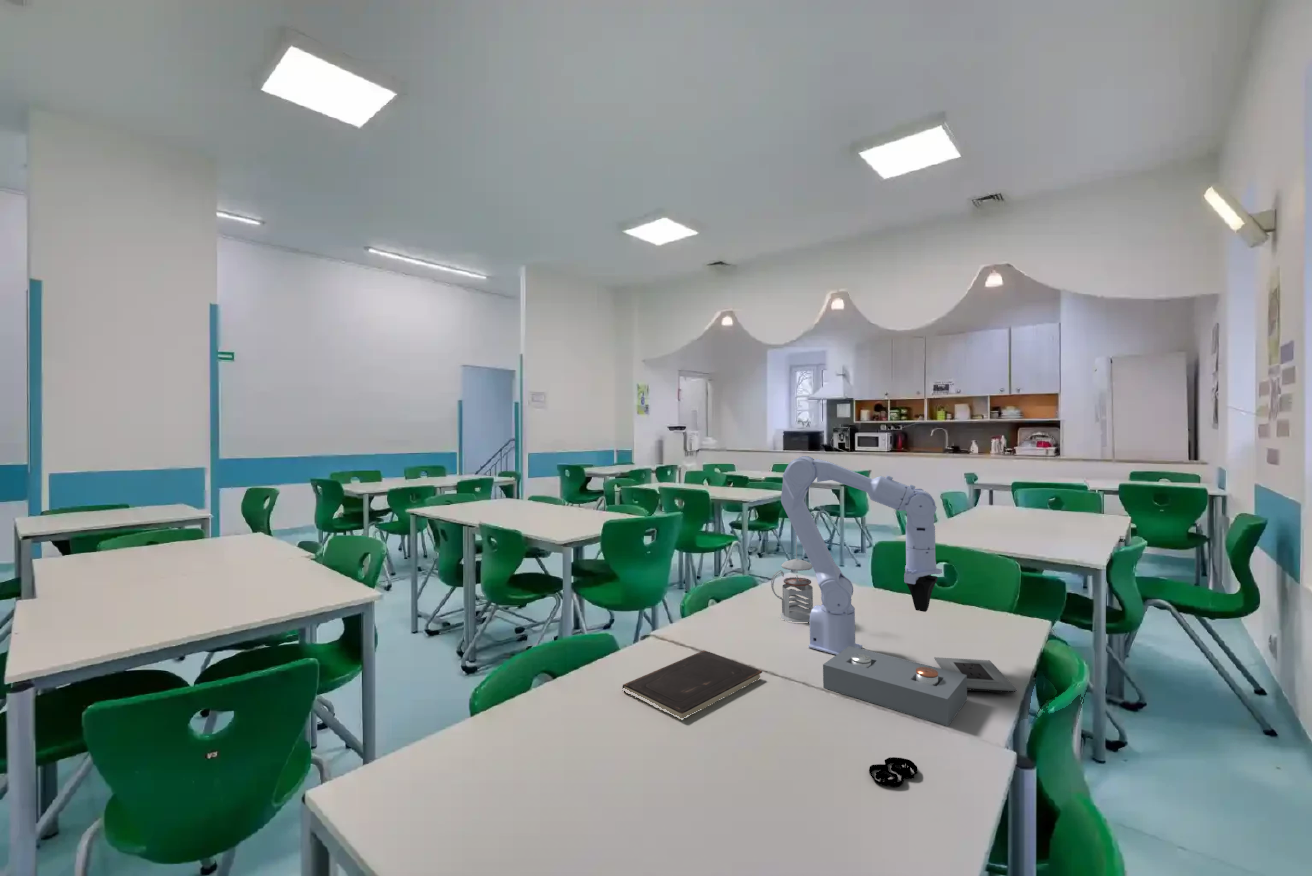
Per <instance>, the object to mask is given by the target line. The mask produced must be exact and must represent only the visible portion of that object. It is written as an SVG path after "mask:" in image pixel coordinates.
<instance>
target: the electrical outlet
mask: <svg viewBox="0 0 1312 876" xmlns="http://www.w3.org/2000/svg"><path fill="white" fill-rule="evenodd" d="M933 659H934V661H936V663H937V664H938V666H939V668H941V669H945V670H949V671H953V672H957V673H961V674H965V675H967V691H976V692H978V691H979V692H994V693H1007V694H1008V693H1010V694H1012V693H1016V692H1018V689H1017V687H1016V686H1015V685H1014V684H1013V683H1012V682H1011V681H1010V679H1008V678H1007V677H1006V676H1005V675H1004V674H1003V672H1002V671H1000V669H999V668H998V667H997V666H996V665H995V664H994V663H993V662H992V661H991V660H990V659H977V658H975V659H973V658H954V657H936V656H934V657H933Z"/></svg>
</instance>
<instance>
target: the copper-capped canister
mask: <svg viewBox="0 0 1312 876" xmlns="http://www.w3.org/2000/svg"><path fill="white" fill-rule="evenodd" d="M916 681H918V682H922V683H926V684H929V685H933V686H937V685H938V672H937V671H936V670H935V669H932V668H928V667H918V668H916Z"/></svg>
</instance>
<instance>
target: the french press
mask: <svg viewBox="0 0 1312 876" xmlns="http://www.w3.org/2000/svg"><path fill="white" fill-rule="evenodd" d="M797 540H798V536H797V534H796V533H795V552H796V553H795V554H796V555H795V556H796V558H794V559H790V560H786V561H784V562H783V563H781V567H782V569H785V570H789V571H796V572H798V571H809V570H812V569H813V567H812V565H811V563H810V561H806V560H804V559H799V558H798V544H797V543H798V541H797ZM780 574H781V577H783V578H784V575H785V572H783V570H778V571H776V572H775V573H774V574H773V575H772V578H771V581H770V583H771V584H770V585H771V591H772V593H773V594H774V596H775V597H777V598H778V599H780V600H781V613H780V614H779V615H780V616H781V618H782V619H784V620H786V621H792V622H810V614H811V610H812V609H813V607H814V599H813V597H814V596H813V594H814V593H813V586H812V585H811V584H812V580H810V579H809V578H805V577H799V576H796V577H795V576H790V577H786V578H784V579H783V580H782V581H783V584H782V596H780V595H778V594H777V593H776V592H775V588H774V586H775V585H774V583H775V580H776V578H777V577H778V575H780ZM790 587H792V588H790ZM788 588H789V589H788ZM793 588H795V589H793ZM796 589H797V590H796ZM786 621H785V622H786Z"/></svg>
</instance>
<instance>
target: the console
mask: <svg viewBox="0 0 1312 876" xmlns="http://www.w3.org/2000/svg"><path fill="white" fill-rule="evenodd" d="M855 654H863V655H867V656H869V657H870V658H871V666H870V667H869V668H866V667H862V666H859V665H855V664H851V656H852V655H855ZM918 667H928V668H932V669H935V670H936V671H937V672H938V685H937V686H933V685H929V684H926V683H922V682H918V681H916V668H918ZM822 679H823V680H822V682H823V683H822V685H823V689H827V690H829V691H833V692H836V693H839V694H842V695H846V696H848V697H852V698H855V699H859V700H861V701H865V702H869V703H871V704H875V705H878V706H881V707H885V708H888V709H891V710H893V711H896V712H897V711H898V712H900V713H904V714H907V715H910V716H914V717H917V718H920V719H923V720H927V721H929V722H933V723H936V724H939V725H943V726H946V727H948V726H950V724H951V722H952V721H954V719H955V717H956V716H957V714H958V713H959V712H960V710H961V709H962V708H963V706H964V705H965V703H966V702H967V701H968V690H967V675H965V674H961V673H957V672H953V671H949V670H945V669H941V668H940V667H936V666H931V665H928V664H923V663H920V662H916V661H915V662H914V661H912V660H908V659H904V658H900V657H895V656H892V655H888V654H883V653H879V652H876V651H871V650H869V649H868V650H867V649H863V648H861V649H860V648H856V647H852V646H848V647H847V648H846V649H844V650H843V651H841V652H840V653H839V654H837V655H834V656H833V657H831V658H830V659H829V660H827V661H826V662H824V663H822Z"/></svg>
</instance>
